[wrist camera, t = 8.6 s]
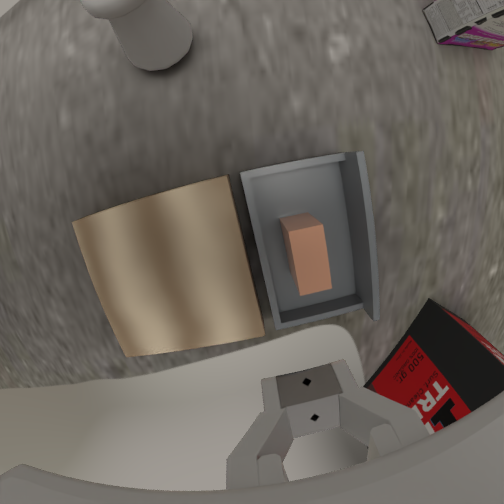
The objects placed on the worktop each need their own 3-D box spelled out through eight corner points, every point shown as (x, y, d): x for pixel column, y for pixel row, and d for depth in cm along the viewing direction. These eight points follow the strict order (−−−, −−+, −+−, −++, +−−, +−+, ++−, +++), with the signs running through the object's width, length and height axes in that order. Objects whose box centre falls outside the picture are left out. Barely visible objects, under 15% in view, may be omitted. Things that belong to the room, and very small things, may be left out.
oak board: (134, 341, 29) (126, 357, 26) (87, 215, 25) (72, 222, 22) (263, 318, 28) (265, 335, 25) (228, 174, 24) (226, 175, 21)
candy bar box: (476, 17, 18) (559, -12, 2) (491, 51, 19) (581, 32, 4) (418, 7, 19) (509, -49, 3) (435, 44, 20) (542, 3, 4)
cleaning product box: (428, 297, 29) (543, 408, 9) (464, 320, 30) (557, 411, 11) (349, 402, 33) (398, 531, 14) (392, 411, 34) (444, 516, 15)
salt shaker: (198, 21, 20) (169, -67, 7) (195, 73, 21) (155, 1, 9) (137, 29, 19) (75, -40, 7) (132, 81, 21) (53, 31, 9)
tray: (273, 316, 28) (278, 346, 23) (240, 171, 24) (239, 173, 19) (360, 295, 28) (379, 319, 23) (341, 152, 24) (363, 150, 19)
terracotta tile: (300, 296, 22) (332, 288, 21) (288, 231, 20) (323, 224, 20) (289, 272, 26) (316, 265, 26) (279, 218, 25) (307, 212, 25)
